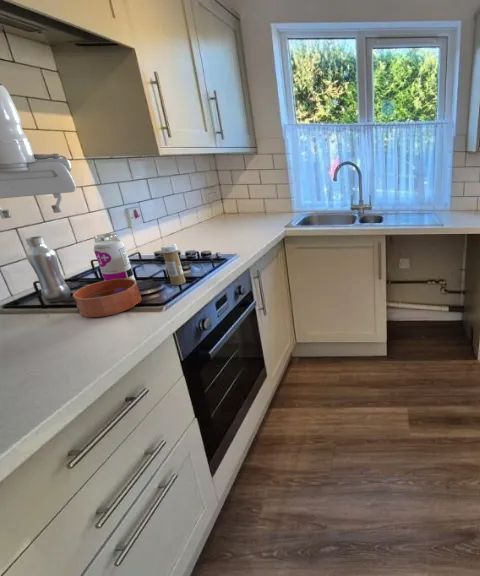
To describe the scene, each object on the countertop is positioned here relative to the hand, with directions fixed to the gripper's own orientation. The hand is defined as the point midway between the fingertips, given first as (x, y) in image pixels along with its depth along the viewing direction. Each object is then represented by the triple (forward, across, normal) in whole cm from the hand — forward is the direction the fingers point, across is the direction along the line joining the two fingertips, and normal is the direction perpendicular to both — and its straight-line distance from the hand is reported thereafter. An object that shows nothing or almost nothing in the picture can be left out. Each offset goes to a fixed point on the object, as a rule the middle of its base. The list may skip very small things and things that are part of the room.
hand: (33, 215), depth 89 cm
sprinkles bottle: (+29, -28, -10) cm, 42 cm away
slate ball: (+28, -8, -1) cm, 29 cm away
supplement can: (+29, -12, -22) cm, 39 cm away
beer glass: (+29, -12, -34) cm, 46 cm away
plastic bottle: (+29, +4, -20) cm, 36 cm away
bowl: (+29, -9, -3) cm, 31 cm away
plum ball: (+27, -10, -3) cm, 29 cm away
